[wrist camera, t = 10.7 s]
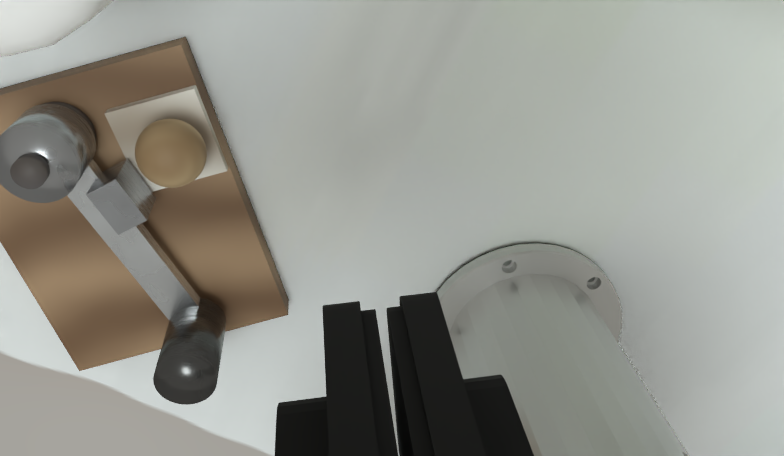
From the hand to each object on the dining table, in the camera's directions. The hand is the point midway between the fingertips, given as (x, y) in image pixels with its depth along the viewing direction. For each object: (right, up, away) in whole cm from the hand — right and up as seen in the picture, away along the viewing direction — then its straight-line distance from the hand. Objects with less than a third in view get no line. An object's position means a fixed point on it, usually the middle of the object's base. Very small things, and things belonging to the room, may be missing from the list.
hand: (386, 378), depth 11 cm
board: (-14, +3, +28) cm, 31 cm away
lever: (-13, +2, +26) cm, 29 cm away
